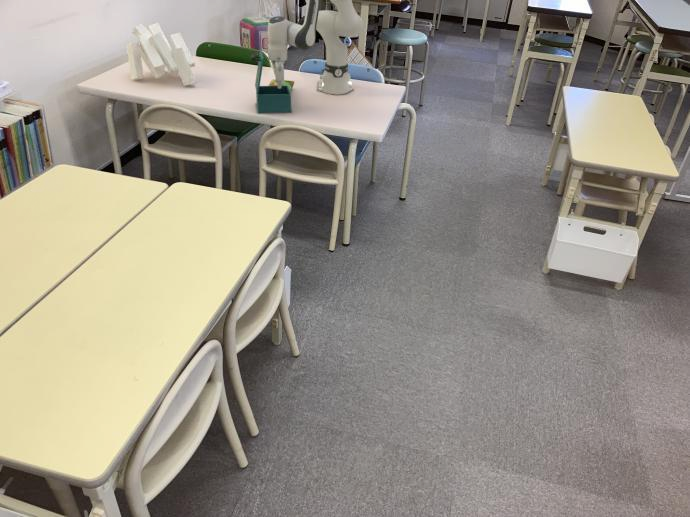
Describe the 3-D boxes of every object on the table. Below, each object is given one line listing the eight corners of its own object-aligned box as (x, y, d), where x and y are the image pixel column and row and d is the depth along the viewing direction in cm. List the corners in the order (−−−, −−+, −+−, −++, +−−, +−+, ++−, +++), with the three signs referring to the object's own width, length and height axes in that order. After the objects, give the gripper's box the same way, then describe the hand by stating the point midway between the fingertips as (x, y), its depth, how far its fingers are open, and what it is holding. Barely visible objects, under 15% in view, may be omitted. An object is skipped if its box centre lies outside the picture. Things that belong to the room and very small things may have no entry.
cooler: (288, 103, 275) (288, 85, 270) (291, 112, 265) (290, 94, 260) (256, 103, 272) (255, 85, 267) (258, 113, 262) (257, 95, 257)
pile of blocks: (208, 85, 304) (189, 19, 297) (193, 80, 275) (172, 7, 268) (149, 101, 307) (129, 36, 299) (128, 98, 278) (104, 26, 270)
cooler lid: (261, 51, 258) (251, 48, 256) (263, 59, 248) (252, 56, 246) (256, 85, 267) (246, 83, 265) (258, 94, 257) (247, 92, 255)
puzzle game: (264, 90, 274) (272, 77, 290) (265, 99, 277) (272, 86, 293) (288, 92, 274) (294, 79, 290) (288, 101, 276) (294, 88, 293)
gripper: (287, 61, 246) (287, 92, 255) (282, 48, 262) (282, 77, 271) (272, 61, 245) (273, 92, 253) (269, 48, 261) (270, 77, 269)
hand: (278, 84), depth 262 cm, fingers open, 8 cm apart
